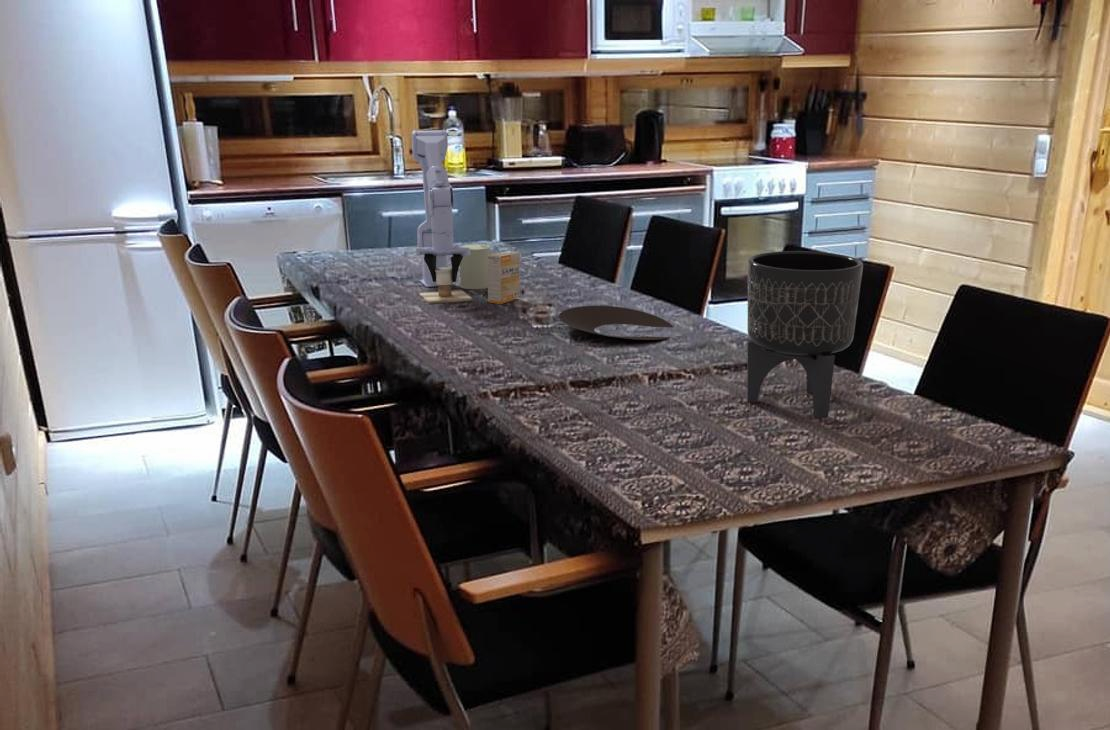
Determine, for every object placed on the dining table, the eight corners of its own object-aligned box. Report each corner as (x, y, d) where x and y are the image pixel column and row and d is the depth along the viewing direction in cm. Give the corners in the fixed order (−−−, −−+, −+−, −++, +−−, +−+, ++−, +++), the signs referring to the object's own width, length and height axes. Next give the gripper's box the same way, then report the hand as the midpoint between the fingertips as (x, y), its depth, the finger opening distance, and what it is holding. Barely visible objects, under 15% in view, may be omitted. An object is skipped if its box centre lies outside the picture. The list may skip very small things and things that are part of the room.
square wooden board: (419, 295, 264) (418, 281, 263) (461, 291, 268) (460, 277, 266) (428, 304, 253) (427, 289, 252) (471, 300, 257) (471, 285, 256)
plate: (671, 349, 209) (671, 333, 208) (547, 343, 215) (547, 327, 213) (680, 319, 235) (681, 304, 234) (570, 314, 241) (570, 300, 240)
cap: (447, 285, 256) (447, 271, 255) (432, 284, 258) (431, 270, 257) (457, 282, 260) (456, 268, 259) (441, 281, 262) (440, 266, 261)
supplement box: (501, 305, 251) (500, 256, 248) (487, 302, 254) (486, 254, 250) (520, 299, 258) (519, 251, 254) (507, 297, 260) (506, 250, 257)
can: (490, 289, 270) (489, 247, 267) (458, 289, 271) (456, 247, 267) (492, 282, 279) (491, 242, 276) (461, 282, 280) (460, 242, 276)
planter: (771, 380, 186) (779, 247, 178) (868, 399, 174) (881, 258, 166) (721, 406, 172) (727, 262, 164) (823, 429, 160) (834, 275, 152)
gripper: (412, 233, 252) (415, 283, 256) (465, 234, 250) (467, 284, 254) (419, 230, 259) (421, 278, 263) (471, 230, 257) (472, 279, 261)
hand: (444, 281), depth 259 cm, fingers closed on cap, 5 cm apart
